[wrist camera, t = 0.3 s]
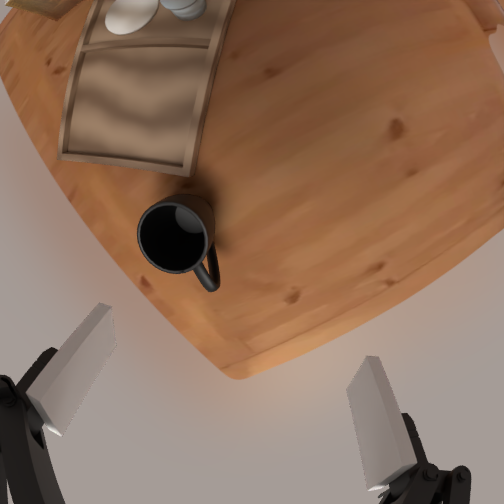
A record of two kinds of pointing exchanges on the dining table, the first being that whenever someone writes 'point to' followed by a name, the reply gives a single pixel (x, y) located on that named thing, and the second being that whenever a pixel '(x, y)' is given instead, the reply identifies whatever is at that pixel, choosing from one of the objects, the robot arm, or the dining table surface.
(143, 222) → the mug
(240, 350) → the dining table surface
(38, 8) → the milk carton
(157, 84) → the tray
